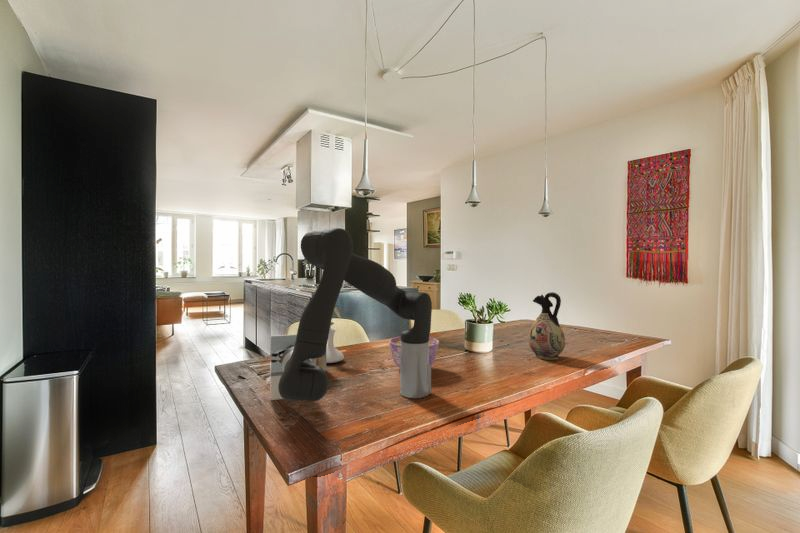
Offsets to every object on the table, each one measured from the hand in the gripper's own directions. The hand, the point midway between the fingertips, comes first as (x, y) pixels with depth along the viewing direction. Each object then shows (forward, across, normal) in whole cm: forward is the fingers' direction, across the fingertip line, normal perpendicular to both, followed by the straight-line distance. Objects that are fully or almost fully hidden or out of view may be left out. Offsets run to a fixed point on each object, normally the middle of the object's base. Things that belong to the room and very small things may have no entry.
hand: (291, 348), depth 112 cm
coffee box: (+23, -10, +16) cm, 30 cm away
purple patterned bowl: (+15, -48, +16) cm, 53 cm away
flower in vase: (+38, -19, +16) cm, 46 cm away
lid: (+1, 0, +1) cm, 1 cm away
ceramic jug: (+10, -112, +16) cm, 114 cm away
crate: (+6, 0, +16) cm, 17 cm away
